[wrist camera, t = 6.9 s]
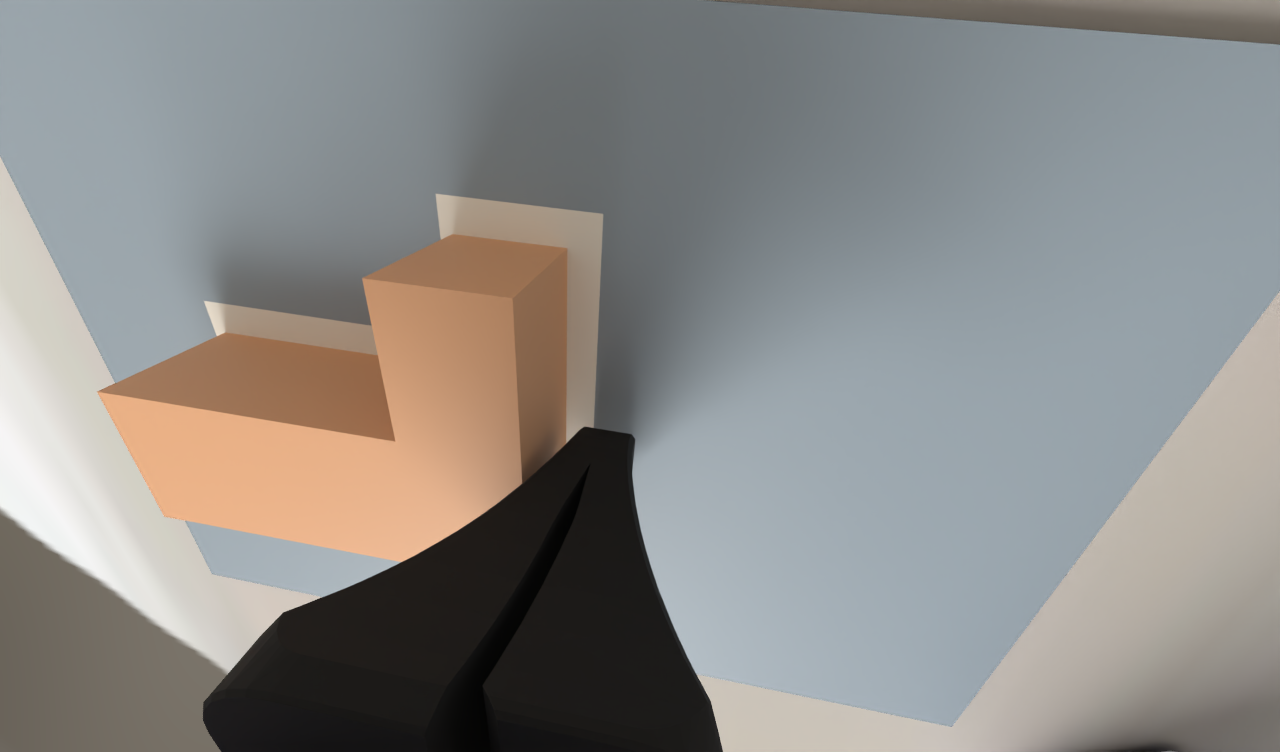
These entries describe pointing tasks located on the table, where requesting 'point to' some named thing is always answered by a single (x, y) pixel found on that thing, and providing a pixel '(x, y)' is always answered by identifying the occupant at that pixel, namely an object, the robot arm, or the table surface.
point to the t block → (367, 408)
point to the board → (706, 270)
